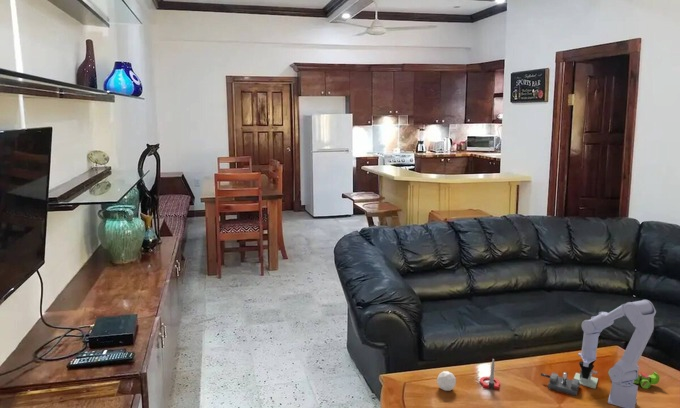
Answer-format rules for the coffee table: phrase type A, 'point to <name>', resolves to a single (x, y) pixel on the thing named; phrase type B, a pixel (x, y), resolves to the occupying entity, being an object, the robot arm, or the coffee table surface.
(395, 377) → the coffee table surface
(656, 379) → the toy crocodile
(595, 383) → the set down mat
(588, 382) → the hollow square tube
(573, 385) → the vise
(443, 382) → the geometric ball
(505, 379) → the coffee table surface
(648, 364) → the coffee table surface
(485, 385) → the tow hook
